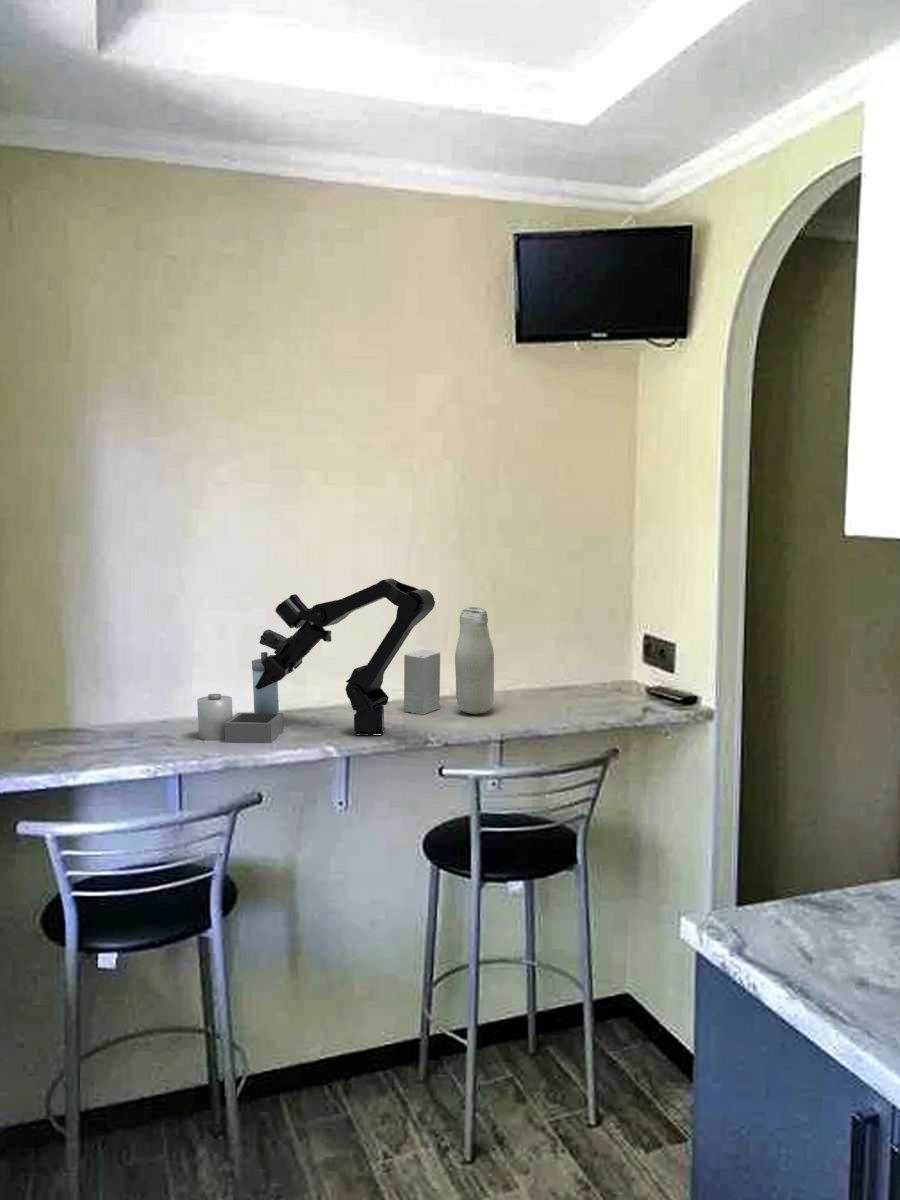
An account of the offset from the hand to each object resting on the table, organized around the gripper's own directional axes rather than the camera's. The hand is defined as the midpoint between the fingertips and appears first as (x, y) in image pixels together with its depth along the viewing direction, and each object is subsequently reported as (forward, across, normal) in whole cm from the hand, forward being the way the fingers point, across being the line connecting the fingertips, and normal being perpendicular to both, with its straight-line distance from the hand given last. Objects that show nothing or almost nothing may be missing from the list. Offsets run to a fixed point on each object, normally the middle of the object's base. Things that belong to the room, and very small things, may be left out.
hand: (260, 685), depth 235 cm
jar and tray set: (+8, +10, +6) cm, 15 cm away
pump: (+4, 0, +6) cm, 7 cm away
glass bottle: (-30, -16, +45) cm, 56 cm away
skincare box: (-20, -18, +35) cm, 44 cm away
